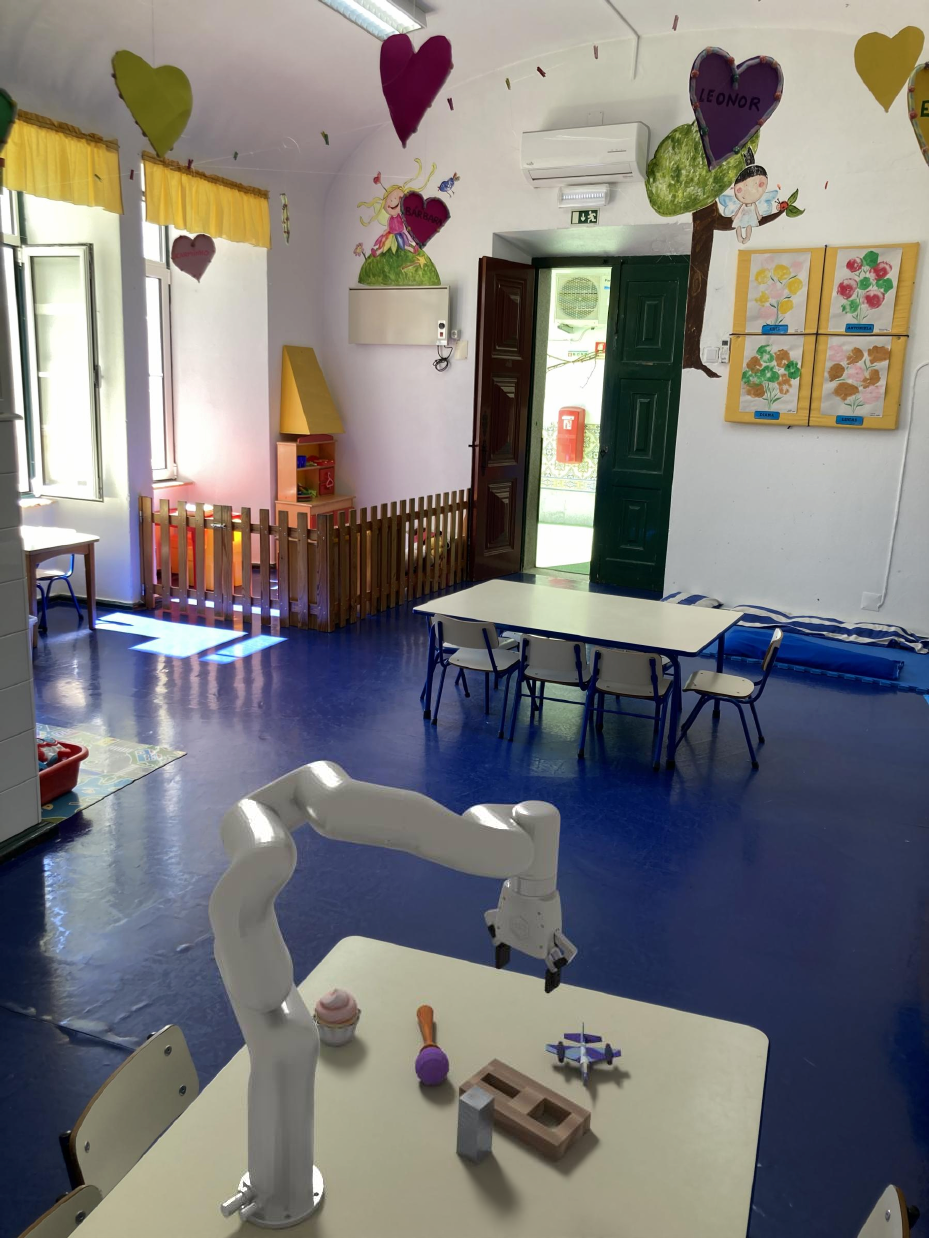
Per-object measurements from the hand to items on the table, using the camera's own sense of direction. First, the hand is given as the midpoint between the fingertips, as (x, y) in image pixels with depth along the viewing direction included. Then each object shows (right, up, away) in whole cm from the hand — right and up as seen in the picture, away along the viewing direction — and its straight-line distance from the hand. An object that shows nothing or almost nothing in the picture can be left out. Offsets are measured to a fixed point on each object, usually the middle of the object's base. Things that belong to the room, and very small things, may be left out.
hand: (526, 977), depth 156 cm
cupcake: (-34, -20, +25) cm, 47 cm away
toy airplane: (+11, -24, +19) cm, 33 cm away
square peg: (-9, -27, -2) cm, 29 cm away
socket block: (0, -26, +7) cm, 27 cm away
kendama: (-17, -22, +21) cm, 35 cm away
